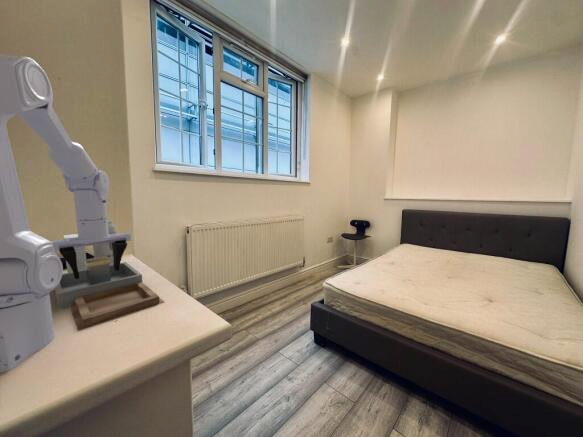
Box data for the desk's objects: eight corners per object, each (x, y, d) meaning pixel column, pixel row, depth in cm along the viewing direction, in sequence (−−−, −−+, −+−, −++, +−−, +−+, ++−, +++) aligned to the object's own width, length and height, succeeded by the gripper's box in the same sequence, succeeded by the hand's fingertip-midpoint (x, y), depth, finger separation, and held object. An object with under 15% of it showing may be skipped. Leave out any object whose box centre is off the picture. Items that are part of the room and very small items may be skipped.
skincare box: (67, 275, 68) (62, 235, 67) (86, 271, 71) (82, 233, 70) (68, 281, 64) (63, 238, 63) (88, 277, 67) (84, 236, 66)
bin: (143, 290, 59) (141, 274, 58) (59, 312, 48) (57, 294, 47) (126, 275, 69) (125, 262, 68) (54, 291, 58) (52, 275, 57)
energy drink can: (109, 270, 72) (104, 223, 70) (90, 270, 72) (85, 222, 71) (123, 264, 78) (119, 220, 76) (105, 264, 78) (101, 220, 77)
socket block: (165, 306, 51) (164, 296, 50) (78, 335, 40) (77, 323, 40) (144, 288, 60) (143, 279, 60) (69, 308, 50) (68, 297, 49)
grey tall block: (108, 282, 61) (106, 256, 60) (112, 286, 58) (110, 259, 57) (86, 287, 58) (83, 259, 57) (89, 292, 55) (86, 263, 54)
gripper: (124, 215, 64) (127, 263, 66) (48, 220, 53) (55, 277, 55) (131, 217, 59) (135, 269, 61) (49, 223, 49) (57, 285, 50)
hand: (97, 273), depth 58 cm, fingers open, 7 cm apart
